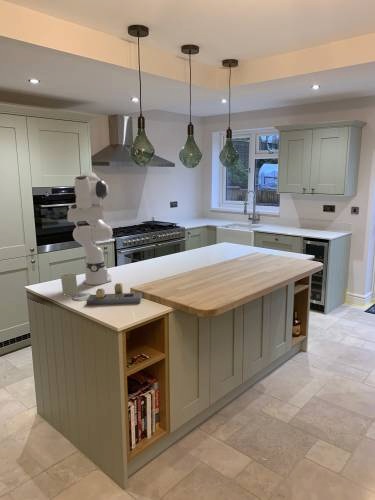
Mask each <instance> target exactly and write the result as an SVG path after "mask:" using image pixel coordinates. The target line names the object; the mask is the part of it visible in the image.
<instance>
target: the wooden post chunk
mask: <svg viewBox="0 0 375 500" xmlns="http://www.w3.org/2000/svg"><path fill="white" fill-rule="evenodd" d="M113 287H114V294H119V293H124V291H123V290H124V288H123V283H121V282H120V283H115V285H114V286H113Z"/></svg>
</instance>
